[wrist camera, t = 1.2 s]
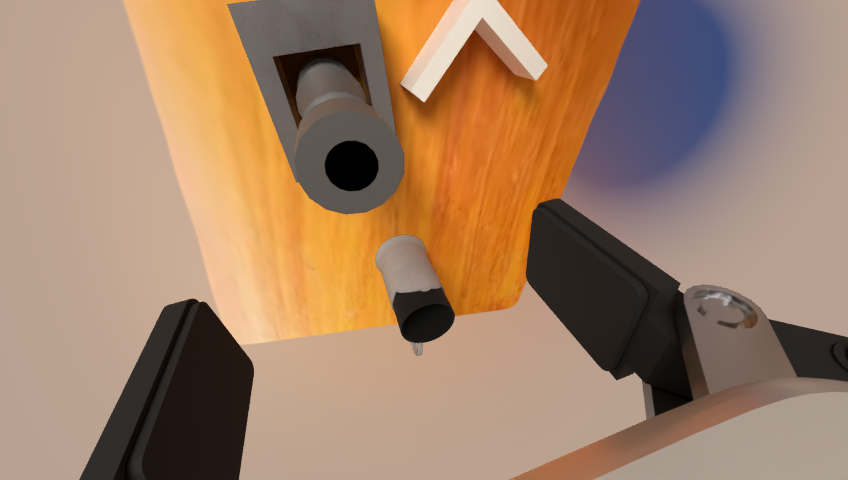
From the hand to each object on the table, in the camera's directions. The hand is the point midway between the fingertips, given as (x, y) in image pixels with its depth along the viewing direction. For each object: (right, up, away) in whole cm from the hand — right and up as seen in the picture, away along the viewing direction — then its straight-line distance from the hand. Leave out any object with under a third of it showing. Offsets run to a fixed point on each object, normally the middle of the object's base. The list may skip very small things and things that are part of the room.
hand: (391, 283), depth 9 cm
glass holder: (-3, -4, +46) cm, 46 cm away
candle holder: (-10, +19, +27) cm, 35 cm away
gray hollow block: (-10, +19, +27) cm, 34 cm away
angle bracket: (+6, +25, +28) cm, 38 cm away
